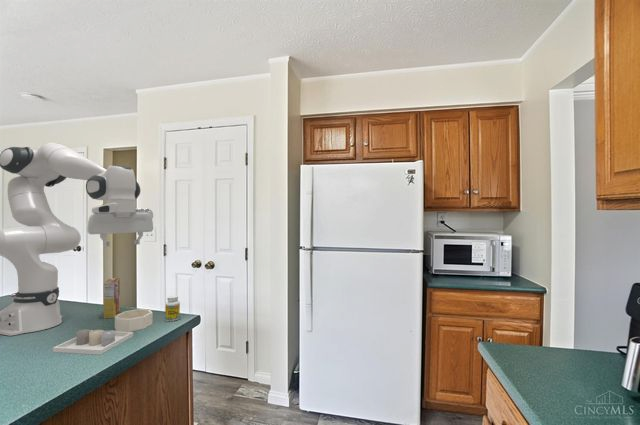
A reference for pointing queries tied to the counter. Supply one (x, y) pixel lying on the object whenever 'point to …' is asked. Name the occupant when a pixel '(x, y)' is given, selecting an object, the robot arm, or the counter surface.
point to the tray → (86, 349)
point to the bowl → (133, 320)
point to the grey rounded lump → (108, 337)
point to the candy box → (111, 298)
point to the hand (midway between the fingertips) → (122, 245)
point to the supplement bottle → (172, 308)
